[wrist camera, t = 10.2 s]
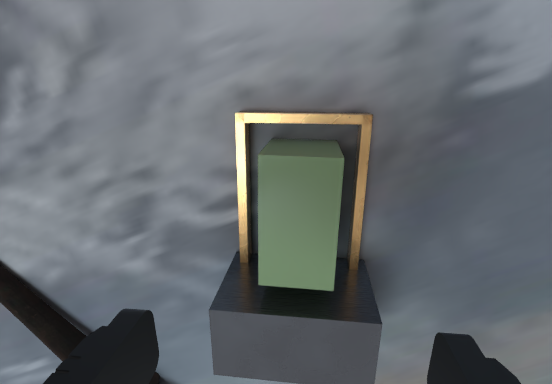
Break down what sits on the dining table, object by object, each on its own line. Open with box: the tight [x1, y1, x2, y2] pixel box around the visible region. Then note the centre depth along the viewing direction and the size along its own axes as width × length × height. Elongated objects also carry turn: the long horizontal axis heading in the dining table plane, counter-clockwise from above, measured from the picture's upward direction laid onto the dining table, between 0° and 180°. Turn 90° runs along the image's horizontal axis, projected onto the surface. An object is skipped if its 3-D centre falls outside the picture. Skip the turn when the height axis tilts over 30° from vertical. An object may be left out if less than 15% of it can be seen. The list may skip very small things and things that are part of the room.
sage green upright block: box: [258, 138, 344, 291], centre depth 20 cm, size 8×4×6 cm, turn 179°
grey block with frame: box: [209, 111, 382, 384], centre depth 21 cm, size 16×10×7 cm, turn 0°
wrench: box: [0, 265, 159, 384], centre depth 27 cm, size 5×5×30 cm
